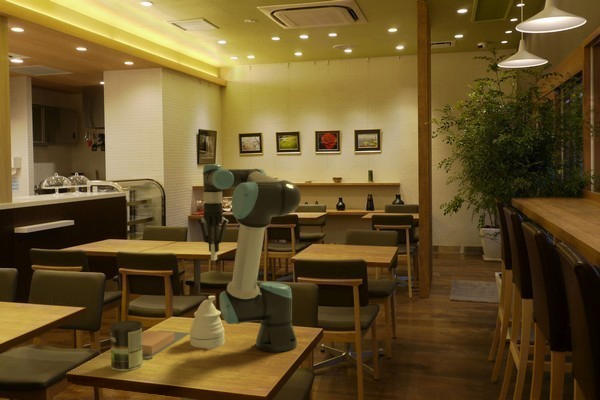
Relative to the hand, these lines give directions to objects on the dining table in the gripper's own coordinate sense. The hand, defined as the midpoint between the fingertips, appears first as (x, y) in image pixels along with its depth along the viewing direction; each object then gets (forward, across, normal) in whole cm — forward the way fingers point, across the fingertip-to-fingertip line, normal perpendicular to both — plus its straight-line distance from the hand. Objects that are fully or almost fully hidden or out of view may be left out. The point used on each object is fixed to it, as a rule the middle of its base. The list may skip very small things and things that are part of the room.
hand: (214, 259), depth 229 cm
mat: (+28, +13, +26) cm, 40 cm away
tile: (+26, +13, +22) cm, 36 cm away
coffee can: (+29, +10, +48) cm, 57 cm away
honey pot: (+29, -6, +19) cm, 35 cm away
